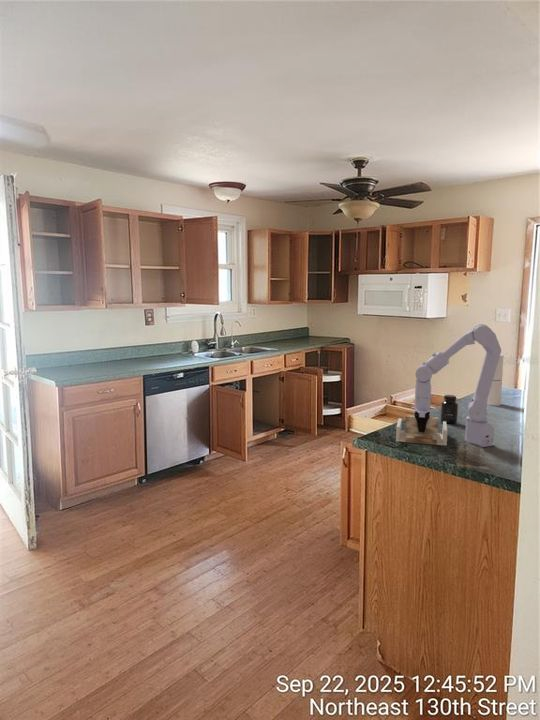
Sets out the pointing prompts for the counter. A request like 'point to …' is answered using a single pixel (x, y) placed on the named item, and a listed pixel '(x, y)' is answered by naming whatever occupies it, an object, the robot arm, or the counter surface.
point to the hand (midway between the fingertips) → (421, 431)
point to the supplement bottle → (449, 410)
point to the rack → (440, 437)
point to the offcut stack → (421, 439)
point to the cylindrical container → (496, 385)
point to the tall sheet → (429, 430)
